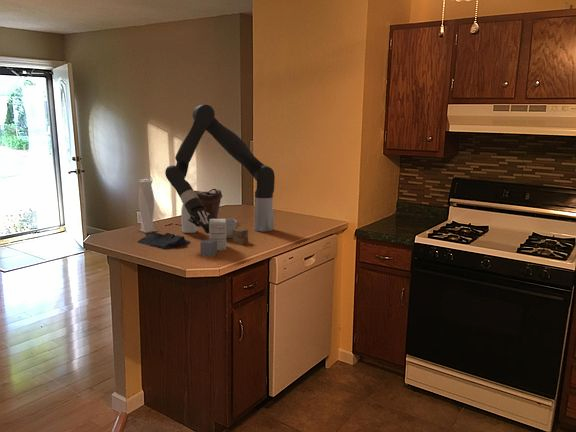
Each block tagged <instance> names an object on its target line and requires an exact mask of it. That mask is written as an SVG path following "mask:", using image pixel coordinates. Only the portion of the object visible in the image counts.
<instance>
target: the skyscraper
mask: <svg viewBox="0 0 576 432" xmlns="http://www.w3.org/2000/svg"><path fill="white" fill-rule="evenodd" d="M138 184H139V191H138V208H139V214H140V218H141V223H140V224H141V225H140V229H138V232H141V233H144V234H150V233H157V232H159V230H158V229H156V228H155V225H154V224H153V216H154V210H155V197H154V191H153V186H152V184H153V177H152V176H149V177H148V178H143V179H142V178H140V179H139V180H138Z"/></svg>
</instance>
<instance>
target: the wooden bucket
mask: <svg viewBox="0 0 576 432" xmlns="http://www.w3.org/2000/svg"><path fill="white" fill-rule="evenodd" d="M194 192H195V193H196V194H197V196H198V198H199V199H200V201H201V203H202V204H203V208H204V210H206V212H207V213H212V217H211V219H218V215H219V210H220V206H221V200H222V198H223V194H222V190H221V189H216V188H212V189H210V190H209V191H200V190H194Z"/></svg>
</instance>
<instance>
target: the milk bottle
mask: <svg viewBox="0 0 576 432" xmlns="http://www.w3.org/2000/svg"><path fill="white" fill-rule="evenodd" d="M180 215H181V216H180V217H181V221H180V222H181V232H182V233H185V234H193V233H197V231H198V226H196V225H195V224H193V223H192V222H190V221H189V220H188V219H189V218H190V214H189V213H188V211H187V210H186V208H185V206H184V204H183V203H182V205H181V213H180ZM196 223H197V222H196Z"/></svg>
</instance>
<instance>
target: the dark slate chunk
mask: <svg viewBox="0 0 576 432" xmlns="http://www.w3.org/2000/svg"><path fill="white" fill-rule="evenodd" d="M137 243H138V244H142V245H145V246H149V247H153V248H157V249H160V250H173V249H177V248H180V247H185V246H187V245H189V244H191V241H190V240H188V239H186V238H185V236H184V235H176V234H174V233H170V232H166V233H164V234H162V233H158V232H151V233H148V234H147V235H145V236H144V237H142V238H140V239H139V240H138V241H137Z"/></svg>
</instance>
